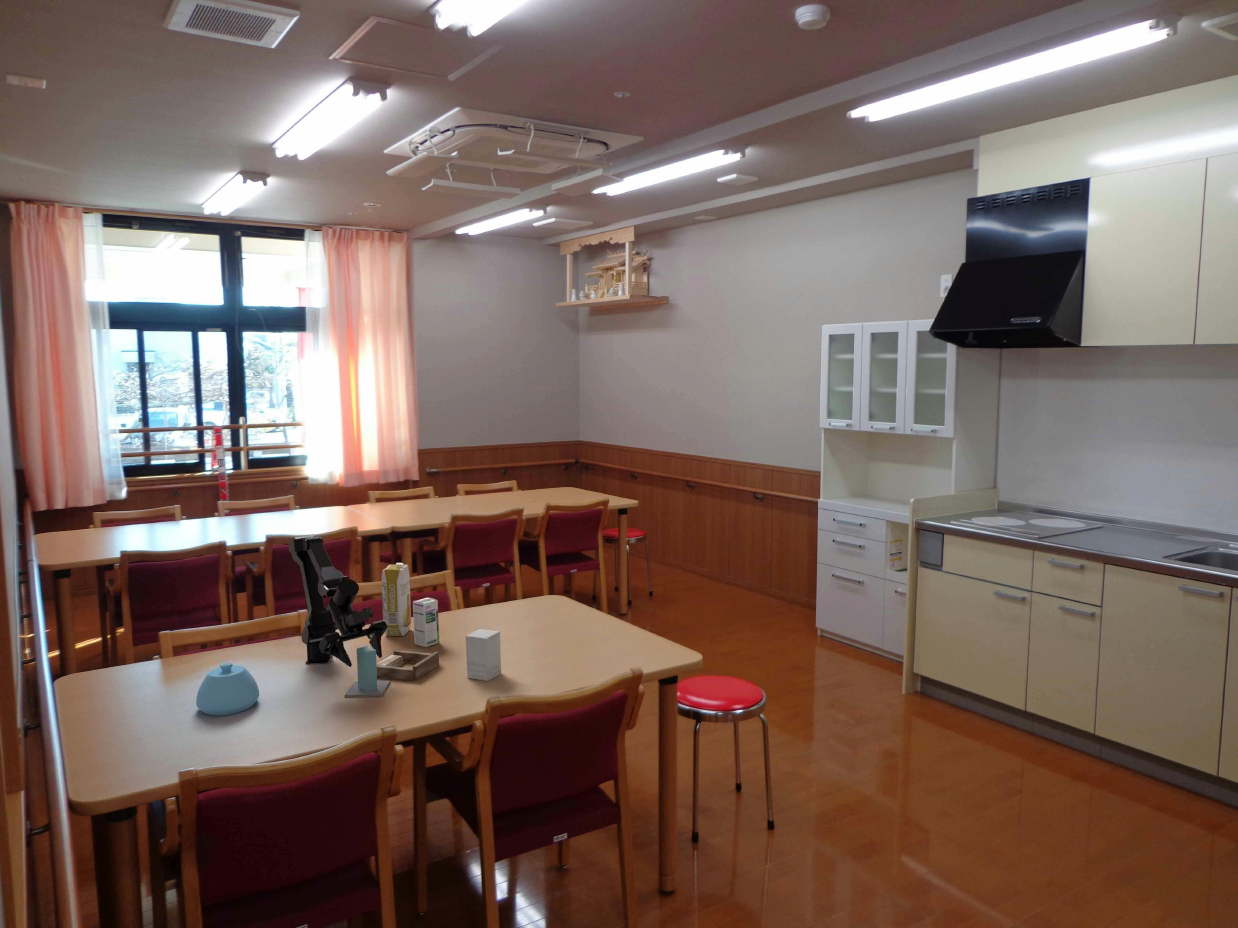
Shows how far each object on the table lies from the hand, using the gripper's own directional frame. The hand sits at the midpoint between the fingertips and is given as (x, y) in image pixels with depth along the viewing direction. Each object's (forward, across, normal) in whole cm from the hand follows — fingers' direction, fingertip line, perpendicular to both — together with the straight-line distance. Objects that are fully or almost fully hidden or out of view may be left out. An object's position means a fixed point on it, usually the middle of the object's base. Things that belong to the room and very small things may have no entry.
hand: (366, 661), depth 227 cm
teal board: (+6, 0, +5) cm, 7 cm away
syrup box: (-9, +34, +21) cm, 41 cm away
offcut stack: (-1, +13, +13) cm, 19 cm away
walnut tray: (+2, +15, +10) cm, 18 cm away
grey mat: (+6, 0, +5) cm, 8 cm away
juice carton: (-21, +34, +33) cm, 51 cm away
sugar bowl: (-6, -30, +18) cm, 36 cm away
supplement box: (+17, +28, -6) cm, 33 cm away
